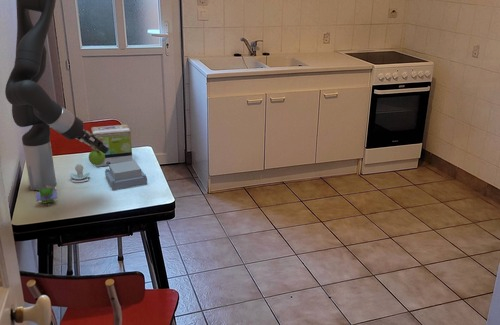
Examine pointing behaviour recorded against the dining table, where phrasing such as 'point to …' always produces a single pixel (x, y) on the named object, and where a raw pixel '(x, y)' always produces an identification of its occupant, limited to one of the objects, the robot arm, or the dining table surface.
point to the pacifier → (79, 174)
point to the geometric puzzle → (46, 195)
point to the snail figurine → (97, 154)
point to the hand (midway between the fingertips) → (101, 148)
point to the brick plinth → (126, 183)
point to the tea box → (115, 143)
